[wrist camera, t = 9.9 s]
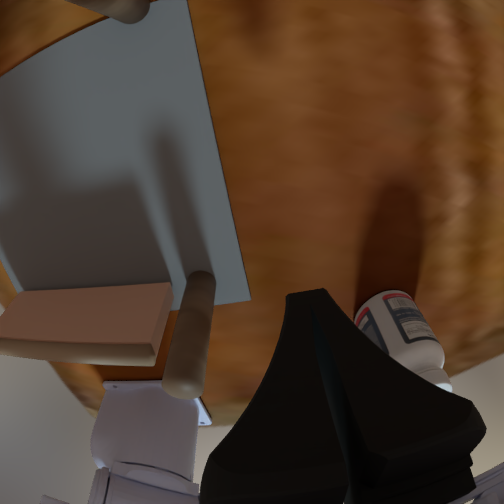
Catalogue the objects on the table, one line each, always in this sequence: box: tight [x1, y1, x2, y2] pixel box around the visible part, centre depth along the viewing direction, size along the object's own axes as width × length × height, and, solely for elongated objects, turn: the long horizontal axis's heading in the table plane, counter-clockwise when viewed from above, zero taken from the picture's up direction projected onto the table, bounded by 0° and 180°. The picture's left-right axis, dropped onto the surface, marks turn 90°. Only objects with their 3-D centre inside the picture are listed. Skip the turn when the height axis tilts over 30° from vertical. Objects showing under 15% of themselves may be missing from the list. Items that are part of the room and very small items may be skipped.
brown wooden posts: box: [65, 0, 217, 400], centre depth 13 cm, size 2×20×9 cm, turn 10°
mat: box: [0, 0, 251, 311], centre depth 18 cm, size 20×20×1 cm
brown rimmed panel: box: [0, 282, 174, 366], centre depth 18 cm, size 14×1×7 cm, turn 96°
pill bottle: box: [354, 290, 452, 392], centre depth 20 cm, size 5×5×9 cm
